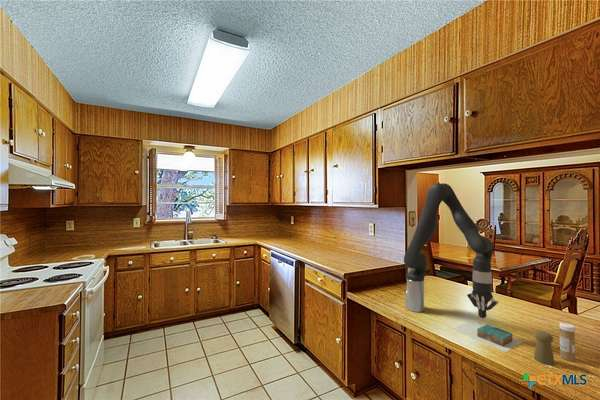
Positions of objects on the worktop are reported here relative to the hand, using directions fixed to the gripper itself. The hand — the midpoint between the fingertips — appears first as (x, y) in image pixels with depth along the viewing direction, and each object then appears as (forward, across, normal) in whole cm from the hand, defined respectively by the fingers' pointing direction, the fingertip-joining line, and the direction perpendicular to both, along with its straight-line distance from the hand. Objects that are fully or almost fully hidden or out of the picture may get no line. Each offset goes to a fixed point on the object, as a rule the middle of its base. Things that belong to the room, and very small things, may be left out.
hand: (482, 317), depth 126 cm
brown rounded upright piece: (+9, +23, -1) cm, 24 cm away
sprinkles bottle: (+9, +27, +9) cm, 29 cm away
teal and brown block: (+6, 0, 0) cm, 6 cm away
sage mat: (+8, +1, 0) cm, 8 cm away
